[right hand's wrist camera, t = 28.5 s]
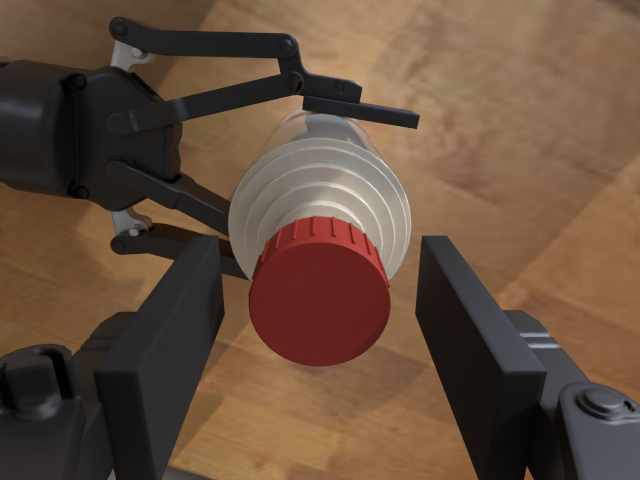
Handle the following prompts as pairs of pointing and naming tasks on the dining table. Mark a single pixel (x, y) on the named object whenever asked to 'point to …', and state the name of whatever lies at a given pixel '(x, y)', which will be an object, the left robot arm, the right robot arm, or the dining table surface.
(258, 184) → the bottle
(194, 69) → the dining table surface
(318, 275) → the cap
